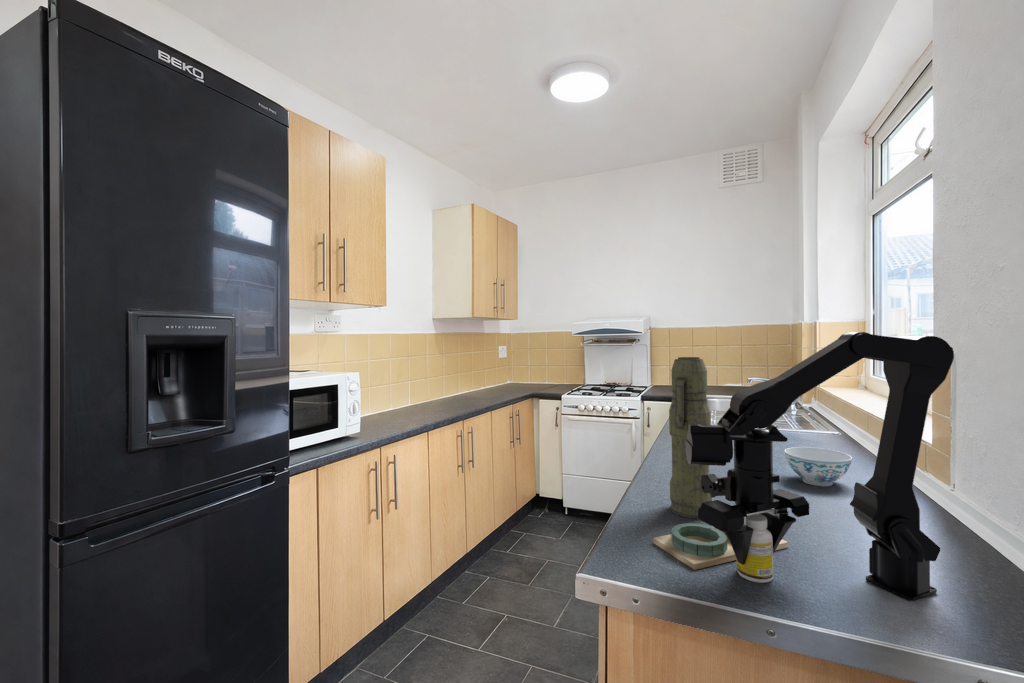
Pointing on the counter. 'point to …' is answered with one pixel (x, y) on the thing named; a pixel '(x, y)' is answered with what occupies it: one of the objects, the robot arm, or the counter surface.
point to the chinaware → (818, 464)
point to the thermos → (682, 412)
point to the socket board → (700, 560)
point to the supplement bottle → (758, 552)
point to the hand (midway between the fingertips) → (754, 560)
